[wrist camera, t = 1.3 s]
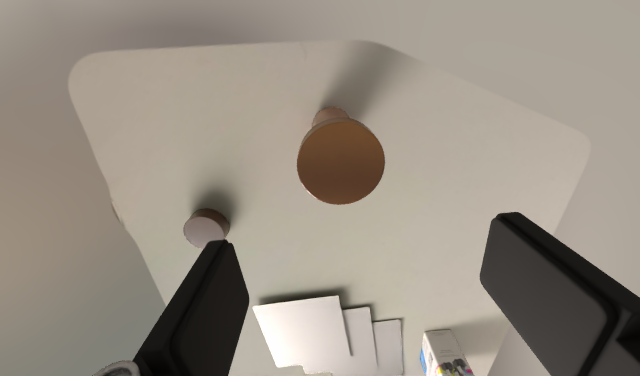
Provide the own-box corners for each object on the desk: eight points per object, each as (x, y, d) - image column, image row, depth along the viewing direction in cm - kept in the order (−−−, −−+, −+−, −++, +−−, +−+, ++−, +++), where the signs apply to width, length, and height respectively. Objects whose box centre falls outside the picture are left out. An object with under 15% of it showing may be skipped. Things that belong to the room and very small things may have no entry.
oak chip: (293, 122, 18) (290, 127, 16) (379, 112, 17) (385, 117, 16) (304, 197, 20) (303, 208, 19) (379, 190, 20) (384, 200, 18)
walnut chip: (185, 210, 33) (177, 218, 32) (223, 206, 33) (218, 214, 31) (197, 242, 36) (191, 251, 34) (233, 238, 35) (228, 247, 34)
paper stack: (398, 283, 39) (399, 287, 39) (402, 375, 50) (403, 379, 49) (252, 302, 41) (251, 306, 40) (287, 387, 51) (287, 391, 51)
